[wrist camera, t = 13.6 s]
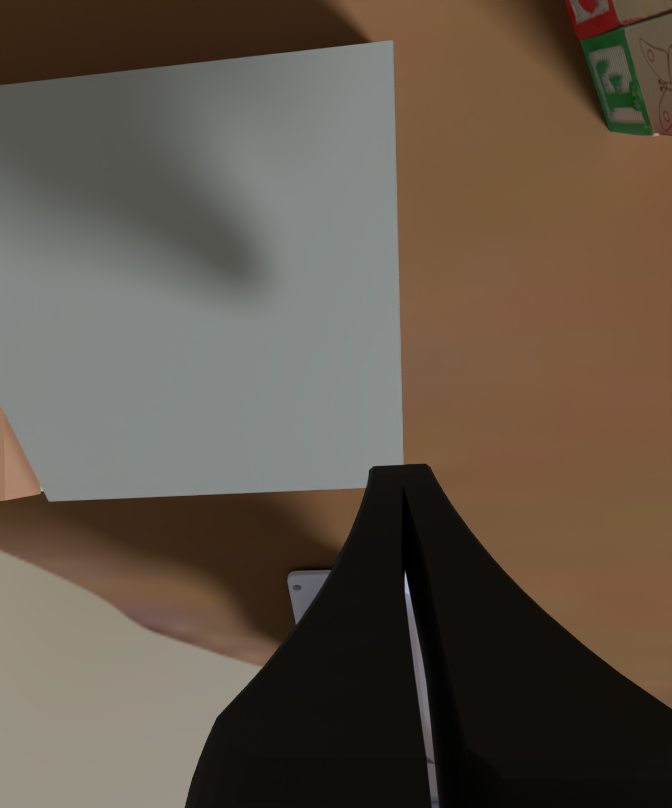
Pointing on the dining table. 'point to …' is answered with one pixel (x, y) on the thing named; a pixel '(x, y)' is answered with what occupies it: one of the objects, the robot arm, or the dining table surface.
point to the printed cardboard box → (629, 61)
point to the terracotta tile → (14, 466)
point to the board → (203, 276)
